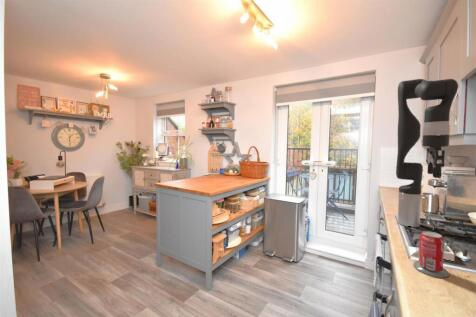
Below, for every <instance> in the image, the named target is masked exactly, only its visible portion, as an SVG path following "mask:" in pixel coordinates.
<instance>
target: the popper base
mask: <svg viewBox="0 0 476 317" xmlns="http://www.w3.org/2000/svg"><path fill="white" fill-rule="evenodd" d="M446 246H447V252H445V251H444V257H443V259H446V260H451V261H454V262H455V253H454V251H453V250H452V249H451V248H450V246H449V245H446ZM446 260H445V261H446ZM451 261H450V262H451Z"/></svg>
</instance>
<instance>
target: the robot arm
mask: <svg viewBox="0 0 476 317" xmlns="http://www.w3.org/2000/svg"><path fill="white" fill-rule="evenodd" d="M397 86H398V87H397V107H398V117H397V156H396V157H397V158H396V166H395V167H396V168H395V175H396V178H397V179H398V180H406V181H407V180H408V181H413V182H411V183H409V184H403V185H401V186H399V188H398V205H397V206H398V207H397V208H398V210H397V223H398V224H399V225H401V226H405V227H408V226H411V227H410V228H420V227H421V226H420V225H421V206H422V205H421V204H422V202H421V201H422V180H423V173H424V172H423V171H424V169H423V168H424V166H423V165H422V163H420V162H405V159H406V156H407V155H408V153H409V152H410V151H411V149H412V148H413V147H414V146H415V145H416V143H417V142H419V140H420V138H421V123H420V121H419V120H418V118H417V117H416V116H415V115H414V114H413V112H412V111H411V110H410V108H409V105H408V100H413V99H420V100H422V101H438V100H441V101H440V103H439V104H437V105H432V106H429V107H426V108H425V109H424V114H423V115H424V116H423V118H424V119H423V120H424V121H423V126H422V127H423V128H422V147H425V148H426V158H425V162H426V165H427V171H426V172H427V174H428V175H432V178H434V179H441V178H442V170H443V168H444V167H445V157H446V156H445V155H446V154H445V153H446V152H445V149H442V147H443V148H446V147H448V146H449V145H450V135H451V134H450V130H451V126H450V112H451V108H452V105H453V101H454V99H455V97H456V95H457V92H458V89H459V83H458V82H457V80H456V79H454V78H446V79H438V80H426V79H424V78H416V79H410V80H403V81H400V82H399V83H398V85H397Z"/></svg>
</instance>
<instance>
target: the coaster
mask: <svg viewBox="0 0 476 317" xmlns="http://www.w3.org/2000/svg"><path fill="white" fill-rule="evenodd" d="M412 264H413V265H412V266H413V268H414V269H415V270H416V271H418V272H419V273H421V274H424V275H427V276H429V277H432V278H438V279H446V278H449V274H450V273H449V271H448V270H447V269H446V268H444V267H443V270H442V271H437V272H435V271H430V270H427V269H425V268H423V267H422V266H421V265H420V264H419V260H418V261H414V262H413V263H412Z"/></svg>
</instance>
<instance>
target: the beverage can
mask: <svg viewBox="0 0 476 317" xmlns="http://www.w3.org/2000/svg"><path fill="white" fill-rule="evenodd" d="M418 243H419V246H418V261H419V264H420V265H421V266H422V267H423V268H425V269H427V270H430V271H435V272H437V271H442V270H443V268H444V260H443V257H444V245H445V240H444V238H443V235H441V234H439V233H438V232H433V231H430V230H429V231H428V230H424V231H421V233H420V235H419V242H418Z"/></svg>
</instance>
